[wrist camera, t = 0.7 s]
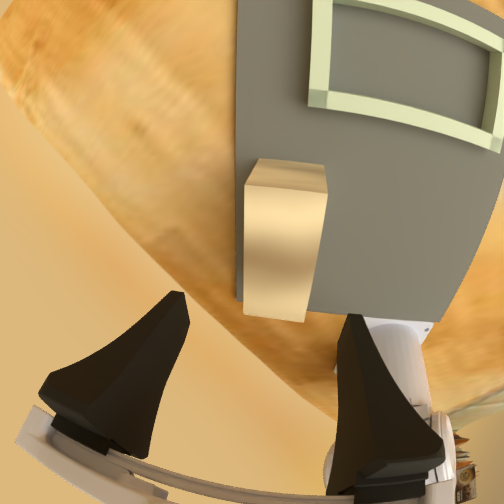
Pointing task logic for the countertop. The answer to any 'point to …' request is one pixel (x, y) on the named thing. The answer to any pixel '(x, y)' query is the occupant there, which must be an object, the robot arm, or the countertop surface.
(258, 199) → the birch block
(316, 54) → the sage frame
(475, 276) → the countertop surface
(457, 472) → the coffee box
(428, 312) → the rubber mat
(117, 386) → the robot arm
